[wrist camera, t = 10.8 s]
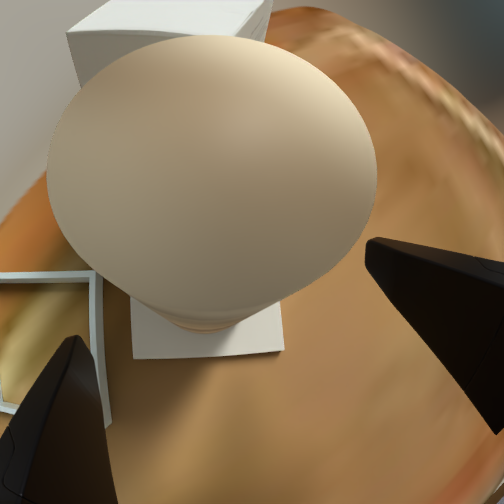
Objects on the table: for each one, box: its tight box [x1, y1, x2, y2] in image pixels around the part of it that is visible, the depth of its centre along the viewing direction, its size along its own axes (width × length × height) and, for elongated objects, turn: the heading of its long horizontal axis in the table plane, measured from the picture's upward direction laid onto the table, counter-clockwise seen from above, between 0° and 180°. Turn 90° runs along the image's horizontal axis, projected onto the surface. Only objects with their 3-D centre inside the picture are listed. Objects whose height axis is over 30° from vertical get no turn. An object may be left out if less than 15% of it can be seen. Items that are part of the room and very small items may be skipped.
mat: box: [130, 296, 284, 359], centre depth 18 cm, size 9×9×1 cm
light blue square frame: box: [0, 270, 112, 428], centre depth 15 cm, size 9×9×2 cm
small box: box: [66, 0, 274, 89], centre depth 14 cm, size 8×6×13 cm
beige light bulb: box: [46, 35, 377, 334], centre depth 11 cm, size 6×6×14 cm
